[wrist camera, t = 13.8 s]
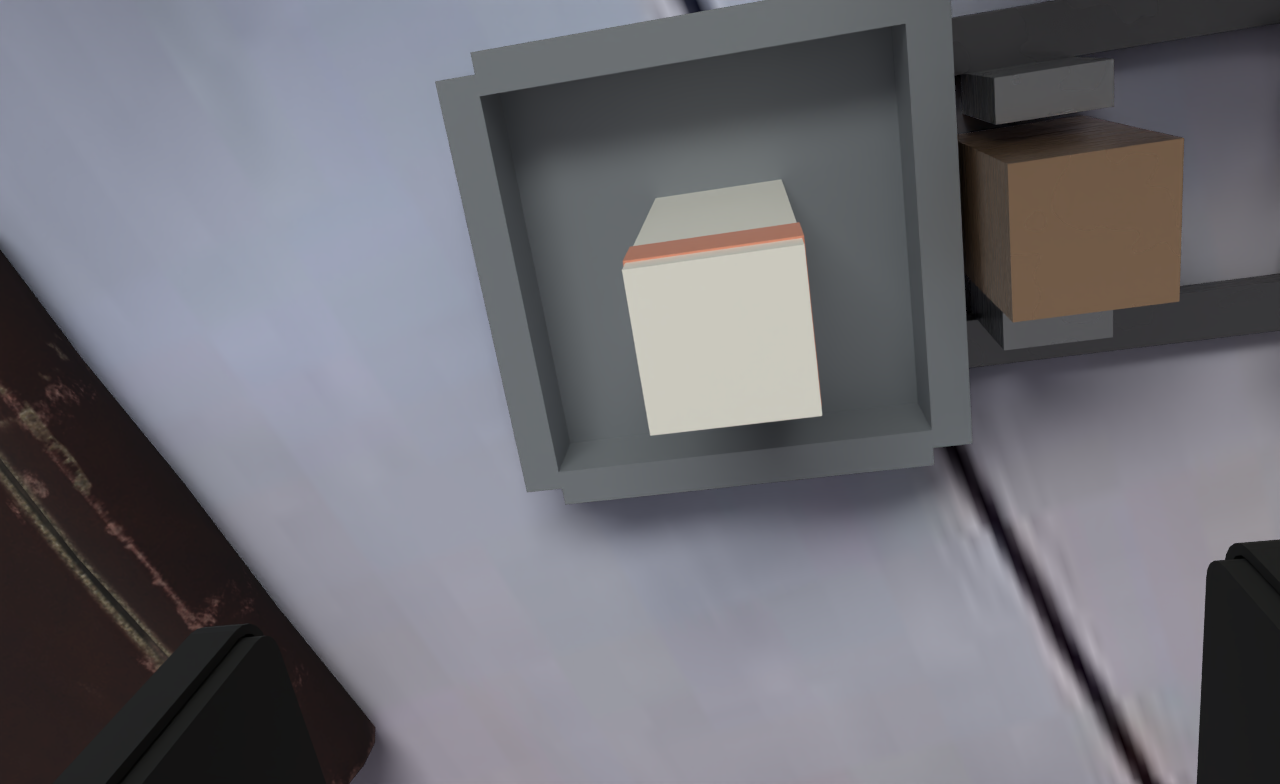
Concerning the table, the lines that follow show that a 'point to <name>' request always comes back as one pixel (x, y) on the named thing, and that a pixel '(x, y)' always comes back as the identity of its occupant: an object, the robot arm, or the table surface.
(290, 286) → the table surface
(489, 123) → the tray
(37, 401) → the diary
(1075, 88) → the fuse holder
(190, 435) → the table surface
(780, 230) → the block
